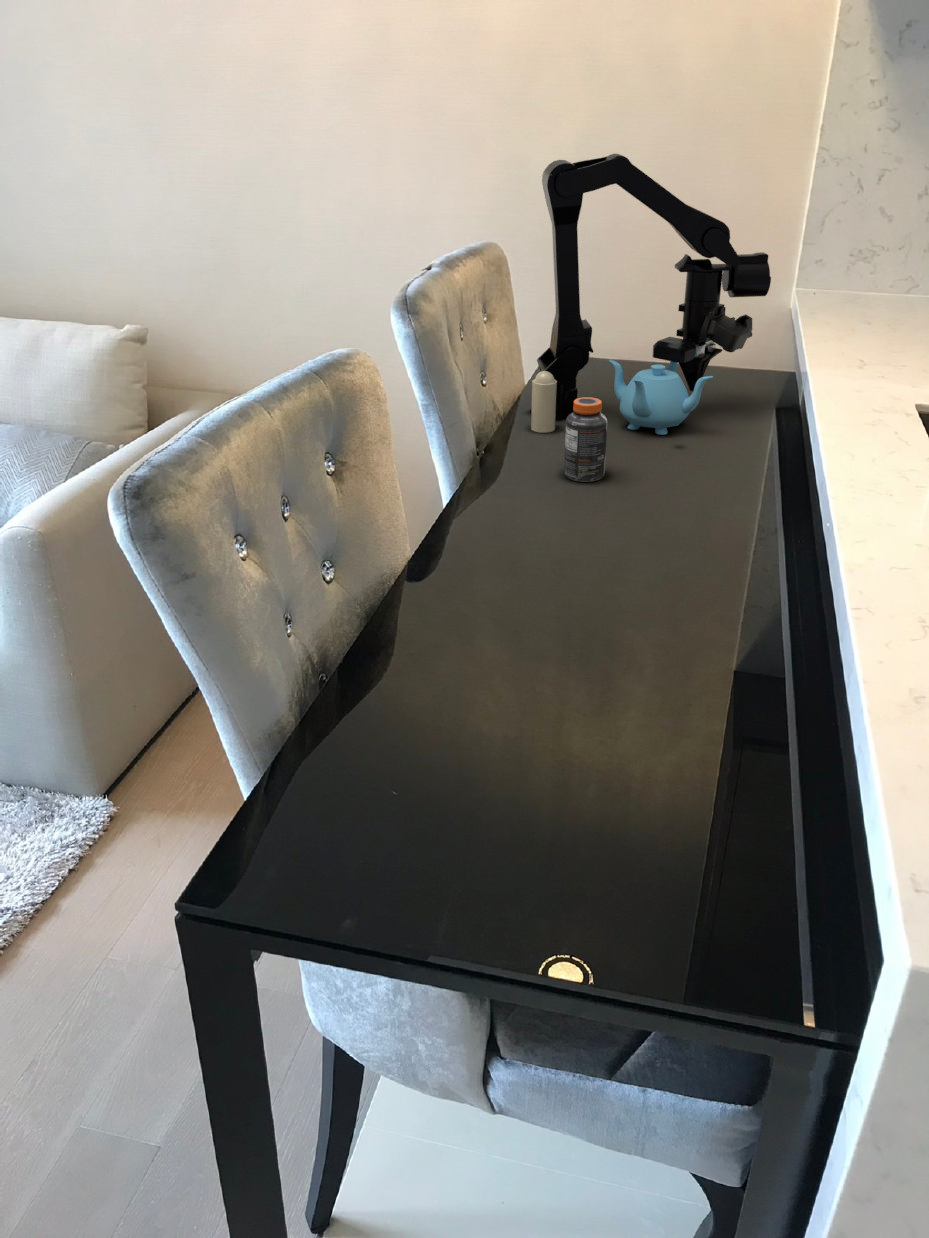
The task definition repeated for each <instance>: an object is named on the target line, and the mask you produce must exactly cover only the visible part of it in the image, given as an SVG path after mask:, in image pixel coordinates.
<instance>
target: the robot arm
mask: <svg viewBox="0 0 929 1238" xmlns="http://www.w3.org/2000/svg"><path fill="white" fill-rule="evenodd" d="M613 185H617V186H618V187H620V188H621V189H622V190H624V191H625V192H626V193H627V194H629V195H630V196H631V197H633V198H635V200H637V201H638V202H640V203H641V204H643V205H644V206H645V207H646V208H648V209H650V210H651V212H653V213H655V214H656V215H658V216H659V217H660V218H662V219H663V220H664V221H666V222H667V223H668V225H670V226H671V228H672V229H673V231H675V232H676V234H677V235H678V236H679V237H680V238H681V240H682V241H683V242H685V244H686V246H688V247H689V248H690V249H691V250H693V251H694V252H695V253H697V254H698V255H700V256H701V257H703V258H695V259H694V258H692V257H691V255H689V254H687V253H685V254H684V256H682V258H681V259H680V260H678V262H676V263H675V264H674V266H673V267H674V269H675V270H677V271H678V272H679V273H686V279H685V289H684V300H683V303H681V304H678V309H677V311H678V312H681V313H682V324H681V328H679V329H676V335H675V336H676V337H675V336H668V337H665V338H662V339H659V340H657V341H656V342H655V343H654V344H653V346H652V358H653V359H656V360H657V359H658V360H663V361H668V362H670V361H672V362H677V364H678V365H679V367H680V369H681V371H682V374H683V376H684V379H685V381H686V384H687V386H688V387H687V388H688V389H689V391H690V392H693V391H694V388H695V385H696V382H697V381H698V379H700V378H701V377H704V375H705V373H706V371H707V368H708V366H709V364H710V363H711V361H712V360H713V359H714V358H715V357H716V356H717V355H719V354H720V353H722V352H723V351H725V352H727V353H734V352H736V351H737V350H741V349H743V348H744V346H745V344H746V342H747V339H749V338H751V337H753V318H752V317H751V315H750V316H749V315H748V314H743V315H740V316H739V317H738V318H736V317H735V316H732V317H729V316H728V315H726V307H725V304H724V303H720V301H721V291H724V292H727V294H728V296H729V298H753V297H754V298H755V297H766V296H767V295H768V293H769V291H770V289H771V283H772V277H771V269H770V268H771V267H770V264H769V254H768V253H766V252H755V253H742V254H740V253H739V254H738V253H737V251H736V250H735V248H734V247H733V245H732V244H731V242H730V240H731V230H730V228H729V226H728V225H727V224H726V223H725V222H723V221H722V220H720V219H718V218H716V217H714V216H712V215H710V214H708V213H706V212H703V211H701V210H700V209H697V208H695V207H693V206H691V205H688V204H686V203H685V202H684V201H682V200H681V199H680V198H678V197H677V196H675V194H673V193H672V192H670V191H669V190H667V189H666V188H665V187H663V186H662V185H661V184H660V183H658V182H657V181H656V180H654V179H653V178H651V177H650V176H649V175H648V174H646V173H645V172H643V171H642V170H641V169H640V168H638V166H635V165H634V164H633V163H632V161H631V160H630V159H629V158H628V157H627V156H624V155H622V154H619V153H612V154H608V155H606V156H602V157H598V158H597V157H596V158H592V159H586V160H579V161H575V162H571V161H569V160H566V159H557V160H554V161H551V163H548V165H547V166H546V167H545V169H544V171H543V172H542V175H541V186H542V190H543V194H544V195H543V196H544V199H545V203H546V207H547V211H548V215H549V218H550V223H551V232H552V233H551V235H552V255H553V258H552V259H553V278H554V279H553V280H554V299H555V302H554V303H555V314H554V319H553V323H552V328H551V335H550V342H549V343H550V344H549V347H548V348H547V349H545V351H544V352H543V353H542V354H540V356H539V357H537V359H536V362H537V365H538V368H539V371H540V372H542V371H548V372H550V373H551V374H552V375H553V377H554V379H555V380H556V381H557V394H556V420H562V419H564V418H567V417H568V416H569V415H570V414H571V413H573V412H574V411H573V406H574V400H575V399H578V391H579V389H578V387H577V376H578V374H579V372H580V371H581V370H583V369H584V368H585V367H586V365H587V364H588V363H589V360H590V353H594V349H593V347H592V336H593V327H592V326H591V324H590V323H589V321H588V320H587V319H586V318H585V319H582V315H581V299H580V298H581V297H580V268H579V265H580V264H579V239H578V237H579V236H578V223H579V219H580V214H581V210H582V205H583V197H584V194H586V193H590V192H594V191H597V190H600V189H603V188H606V187H608V186H613ZM714 258H716V259H717V260H719V261H721V262H722V263H712V261H711V260H710V259H714ZM678 337H679V338H678ZM717 345H718V346H719V347H720V348H718V347H716V346H717ZM529 412H530V413H531V408H530V409H529Z"/></svg>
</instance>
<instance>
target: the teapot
mask: <svg viewBox="0 0 929 1238" xmlns="http://www.w3.org/2000/svg"><path fill="white" fill-rule="evenodd" d="M608 362H609V363H610V364H611V365H612V368H613V369H614V381H613V382H614V383H613V390H614V395H615V397H616V399H617V400H618V401H619V412H620V414H621V415H622V416H623V418H624V419H625V420H626V421H627V422H628V423H629V424H628V426H627V429H629V430H634V431H635V430H639V429H640V428H641V427H644V428H653V429H654V434H657V435H662V436H663V435H667V434H668V433H669V432H668V428H671V427H677V426H680V424H682V422H683V421H685V419H687V417H688V416H689V415H690V413H691V412H692V411H694V410H695V409H696V408H697V407H698V405H699V403H700V400H701V397H702V392H703V388H704V386H705V384H706V383H707V382H708V381H709V380H710V379H712V378H714V376H713V375H707V376H703V377H701V378H700V379H698V381H697V382H696V385H695V388H694V391H692V393H691V394H690V396H689V392H688V390H687V387H686V385H685V384H684V381H683V379H682V378H681V376H680V375H679V373H678V363H677V362H672V361H669V365H668V367H667V369H666V366H665V365H664V364H661V363H660V364H658V363H657V364H652V365H650V368H647V369H642V370H640V371H638V372H636V374H635V375H634V376H633V377H632V378H631V380H630V381H629V383H628V384H626V383H625V378H624V370H623V367H622V365H621V364H620V362H618V361H615V360H614V359H608Z"/></svg>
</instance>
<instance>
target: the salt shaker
mask: <svg viewBox="0 0 929 1238" xmlns="http://www.w3.org/2000/svg"><path fill="white" fill-rule="evenodd" d="M556 394H557V381H556V380H555V379H554V377H553V375H552V374H551V373H550V372H548V371H542V372H541V371H540V372H538V373H537V374H536V375H535V378H534V379H532V380H531V407H530V409H531V412H530V413H531V415H530V430H531V431H533V432H535V433H543V434H544V433H545V434H546V433H551V432H554V431H555V430H556V420H557V419H556Z"/></svg>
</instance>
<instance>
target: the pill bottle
mask: <svg viewBox="0 0 929 1238" xmlns="http://www.w3.org/2000/svg"><path fill="white" fill-rule="evenodd" d="M602 407H603V402H602V400H601V399H599V398H596V397H589V396H587V397H586V396H585V397H577V399H575V400H574V406H573V411H574V412H573V413H571V414H570V415H569V416H567V417H566V419H565V435H564V437H565V439H564V463H563V464H564V465H563V474H564V476H565V477H566V478H567V479H569V480H571V481H576V482H582V483H584V482H585V483H586V482H588V483H589V482H595V481H599V480H601V479H603V478H604V476H605V470H606V456H607V455H606V454H607V452H606V451H607V438H608V419H607V417H606V415H605V414H603V412H602V410H603V408H602Z"/></svg>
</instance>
